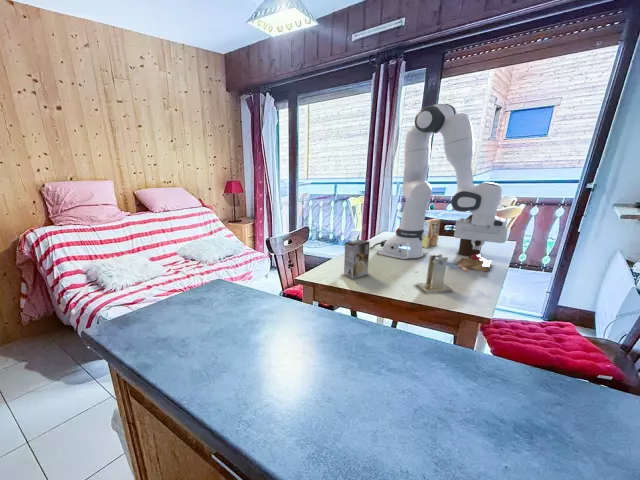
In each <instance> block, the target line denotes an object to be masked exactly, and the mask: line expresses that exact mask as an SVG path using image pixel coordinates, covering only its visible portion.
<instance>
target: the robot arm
mask: <svg viewBox="0 0 640 480" xmlns="http://www.w3.org/2000/svg"><path fill="white" fill-rule="evenodd" d="M437 133H440V134H441V136H442V140H443V149H444V155H445V157H446V159H447V161H448V162H449V163H450V165H451V166H452V167H453V169H454V172H455V179H456V185H457V189H456V193H455V194H454V195H453V196H452V198H451V203H450V204H451V207H452V209H453V210H455V211H457V212H460V213H465V212H472V214H473V216H472V219H466V218H463V217H462V218H459V219H457V220H456V221H455V230H454V233H453V238H455V239H469V240H472V241H471V243H472V245H473V250H480V248H481V249H482V247H483V246H484V244H485V243H486V242H487V243H497V244H504V243H505V242H506V241H507V238H508V226H507V224H508V220H506V218H502V217H499V216H498V215H497V214H498V208H499V206H500V204H501V199H502V192H503V188H502V186H501V185H500V184H498V183H495V182H490V181H482V182H481V183H479V184H477V185H474V179H473V171H472V161H473V156H474V147H475V146H474V145H475V144H474V143H475V141H474V140H475V138H474V132H473V126H472V122H471V119H470V117H469V115H468V114H467V113H463V112H461V113H457V111H456V108H455V107H454V106H453V105H451V104H449V103H435V104H432V105H431V104H430V105H427V106H424V107H423V108H421V109H420V110H419V111H418V112H417V113H416V115H415V117H414V125H412V126H411V127H409V129H407V132H406V135H405V140H404V141H405V143H404V170H403V178H402V190H401V192H402V195H403V197H404V198H405V202H404V205H403V210H402V213H401V218H400V219H401V220H400V226H398V228H397V229H395V235H393V236H392V237H390V238H388V239H384V240H382V241H380V242H377V243H375V244H374V245H372V247H371V246H369V250H372V249H374V248H375V247H376V246H378V245H380V247H381V248H380V249H379V250H378V252H377V253H378V255H381V256H386V257H391V258H397V259H402V260H408V259H418V258H422V257H424V252H423V247H422V240H423V237H424V229H423V228H424V221H425V220H426V213H427V211H428V207H429V203H430V200H431V197H432V196H433V188H432V186H431V184H430V183H429V182H428V181H427V178H428V177H427V176H428V171H429V167H430V161H431V160H430V159H431V140H432V139H431V138H432V136H433V135H434V134H437ZM476 240H478V241H481V243H482V244H481V245H479V246H477V245H475V243H474V242H475V241H476ZM480 251H481V250H480Z"/></svg>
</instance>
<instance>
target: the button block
mask: <svg viewBox="0 0 640 480" xmlns="http://www.w3.org/2000/svg"><path fill="white" fill-rule="evenodd" d="M457 265H461V266H463V267H465V268H467V269H468V270H476V271H483V272H488V271H489V270H490V268H491V265H492V260H487V259H485V258H484V257H482V256H481V258H480V259H479V260H476V259H471V256H467V257H464V256H463V257H461V259H460V260H459V261H458V263H457Z"/></svg>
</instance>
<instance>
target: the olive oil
mask: <svg viewBox="0 0 640 480" xmlns="http://www.w3.org/2000/svg"><path fill="white" fill-rule="evenodd" d="M472 216H473V213H471V214H470V215H469V216H467V217H465V219H472ZM459 239H460V238H459ZM471 241H472V240H469V239H460V240H459V247H458V255H460V256H463V257H470V256H472V255H473V254H477V255H481V251H482V247H481V248H480V250H473V245H472V243H471ZM474 243H475V245H477V246H479V245H481V244H482V243H481V241H478V240H476V241H475V242H474Z"/></svg>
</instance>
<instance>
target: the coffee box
mask: <svg viewBox="0 0 640 480" xmlns="http://www.w3.org/2000/svg"><path fill="white" fill-rule="evenodd" d="M370 244H371V243H370V241H368V240H363V239H356V240H350V241H346V242H344V260H343V261H344V262H343V264H344V265H343V275H345V276H348V277H350V278H359V277H362V276H366V275H369V273H368V272H369V257H370V256H369V255H370Z"/></svg>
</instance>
